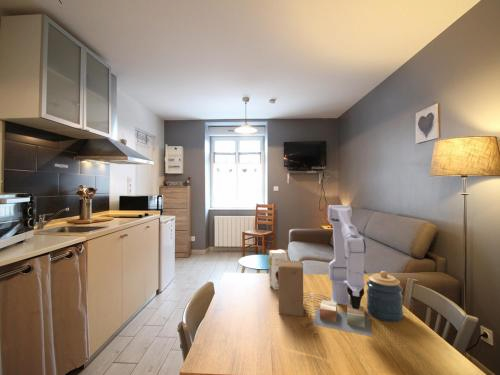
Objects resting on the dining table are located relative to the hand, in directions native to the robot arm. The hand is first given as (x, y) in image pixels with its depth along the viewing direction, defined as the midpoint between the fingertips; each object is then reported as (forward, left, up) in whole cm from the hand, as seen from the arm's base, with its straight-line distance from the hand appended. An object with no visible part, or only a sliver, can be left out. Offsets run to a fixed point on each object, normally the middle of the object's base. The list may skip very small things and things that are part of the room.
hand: (355, 308), depth 87 cm
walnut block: (-2, 0, -6) cm, 6 cm away
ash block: (-2, -10, -6) cm, 12 cm away
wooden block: (-5, -25, -8) cm, 27 cm away
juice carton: (-27, -37, -8) cm, 47 cm away
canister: (-16, +11, -8) cm, 21 cm away
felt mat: (-4, -5, -8) cm, 10 cm away
